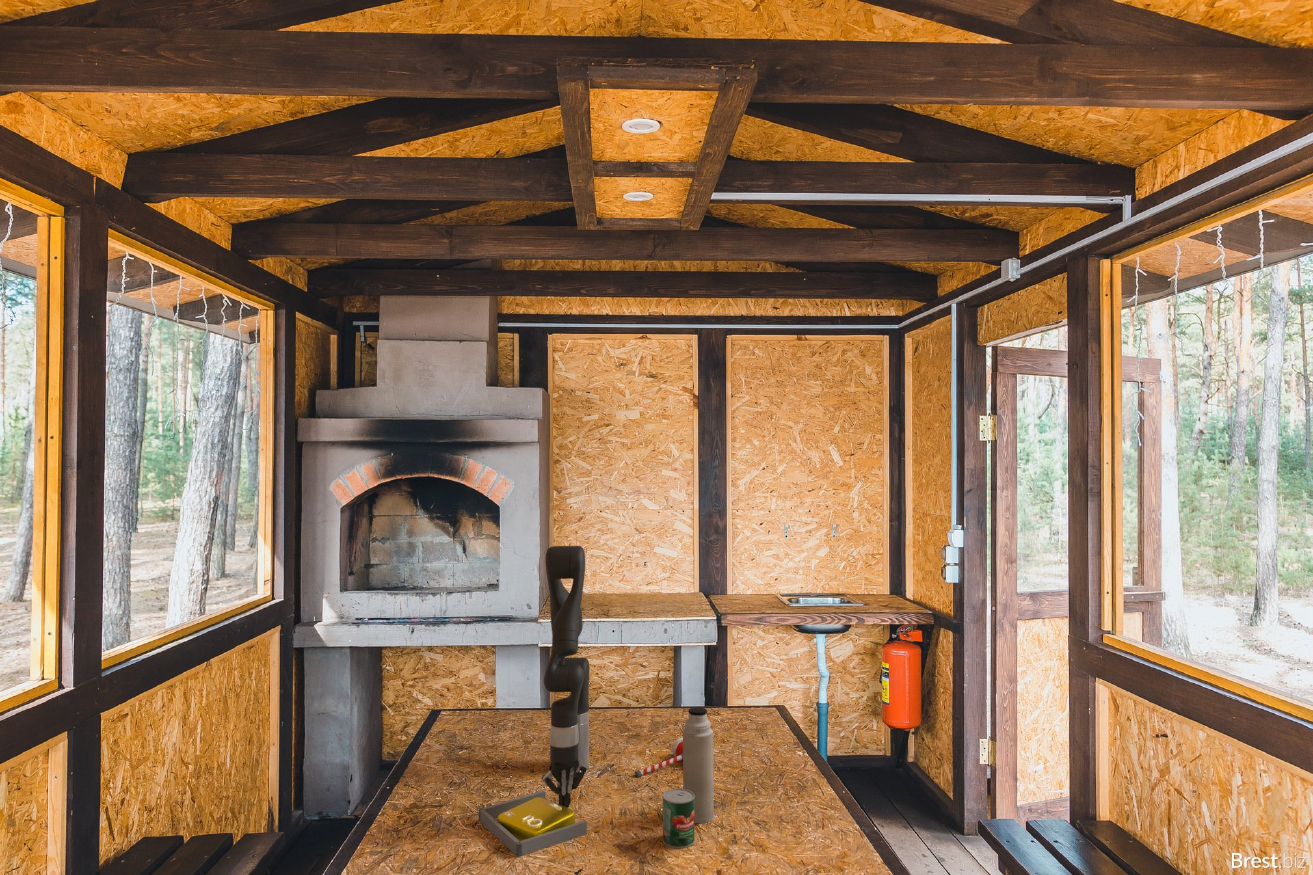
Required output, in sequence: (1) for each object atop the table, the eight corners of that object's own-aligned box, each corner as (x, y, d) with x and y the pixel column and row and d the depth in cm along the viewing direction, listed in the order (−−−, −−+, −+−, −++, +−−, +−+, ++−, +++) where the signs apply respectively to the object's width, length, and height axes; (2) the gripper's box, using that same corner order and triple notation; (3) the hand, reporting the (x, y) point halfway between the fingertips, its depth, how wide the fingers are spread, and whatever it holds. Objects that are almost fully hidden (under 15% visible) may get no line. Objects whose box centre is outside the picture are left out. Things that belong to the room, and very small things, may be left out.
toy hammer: (646, 785, 222) (646, 762, 222) (626, 771, 232) (626, 750, 232) (710, 768, 234) (709, 747, 235) (688, 755, 244) (688, 735, 244)
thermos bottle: (688, 807, 207) (687, 702, 208) (717, 811, 204) (716, 705, 205) (679, 820, 199) (678, 712, 200) (709, 825, 197) (708, 715, 197)
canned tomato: (684, 851, 183) (684, 805, 184) (656, 843, 188) (656, 797, 188) (700, 837, 190) (700, 792, 190) (673, 829, 194) (673, 785, 195)
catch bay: (478, 820, 200) (478, 809, 200) (543, 801, 211) (543, 790, 211) (517, 857, 181) (517, 844, 181) (586, 833, 192) (586, 821, 193)
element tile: (578, 828, 196) (578, 809, 196) (534, 851, 184) (534, 831, 185) (538, 811, 205) (538, 793, 206) (494, 832, 194) (494, 813, 194)
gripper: (578, 731, 209) (579, 795, 209) (535, 742, 202) (535, 808, 201) (593, 739, 203) (593, 805, 203) (548, 750, 195) (549, 819, 195)
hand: (564, 807), depth 202 cm, fingers closed
